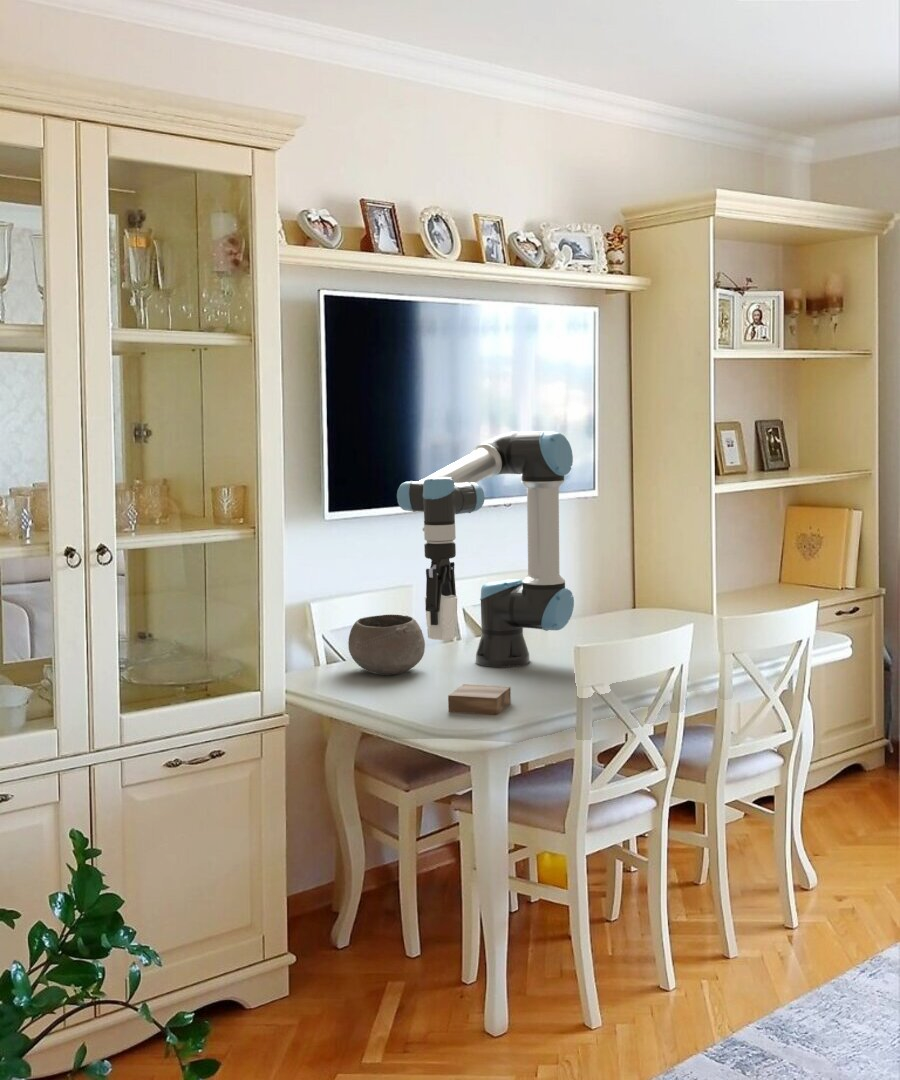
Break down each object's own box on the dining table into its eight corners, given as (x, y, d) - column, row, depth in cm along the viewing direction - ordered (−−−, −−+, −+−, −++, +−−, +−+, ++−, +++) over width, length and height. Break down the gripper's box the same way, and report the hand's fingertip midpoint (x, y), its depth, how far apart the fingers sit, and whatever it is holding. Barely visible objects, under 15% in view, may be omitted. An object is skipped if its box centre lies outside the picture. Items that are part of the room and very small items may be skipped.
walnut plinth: (463, 700, 310) (463, 684, 310) (510, 702, 306) (510, 686, 306) (448, 711, 299) (448, 695, 298) (496, 714, 295) (496, 698, 295)
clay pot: (423, 680, 332) (422, 624, 331) (345, 681, 333) (343, 626, 331) (427, 663, 353) (426, 611, 352) (353, 665, 354) (352, 612, 352)
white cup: (461, 639, 302) (461, 598, 301) (430, 641, 300) (429, 600, 299) (453, 633, 310) (452, 593, 309) (422, 635, 308) (421, 595, 307)
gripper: (440, 536, 313) (442, 626, 316) (409, 546, 294) (412, 642, 297) (468, 537, 311) (470, 627, 313) (439, 546, 292) (441, 643, 294)
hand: (442, 634), depth 305 cm, fingers closed on white cup, 8 cm apart
